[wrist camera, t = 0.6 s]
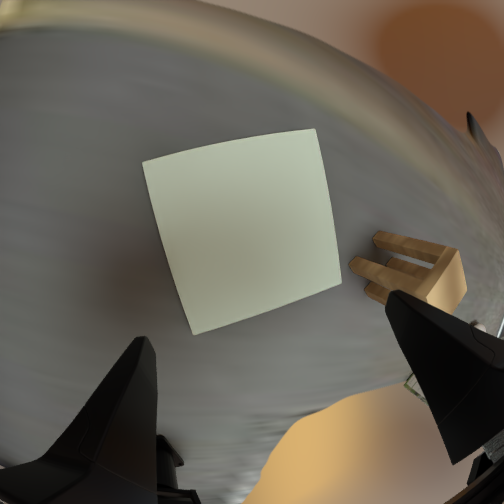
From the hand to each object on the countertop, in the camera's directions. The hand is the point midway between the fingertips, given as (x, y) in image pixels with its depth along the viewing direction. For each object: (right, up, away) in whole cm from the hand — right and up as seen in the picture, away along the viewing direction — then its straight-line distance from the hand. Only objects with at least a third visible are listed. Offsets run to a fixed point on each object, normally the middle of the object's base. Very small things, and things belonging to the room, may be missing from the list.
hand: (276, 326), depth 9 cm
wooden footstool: (+12, +1, +17) cm, 21 cm away
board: (-1, +4, +13) cm, 14 cm away
